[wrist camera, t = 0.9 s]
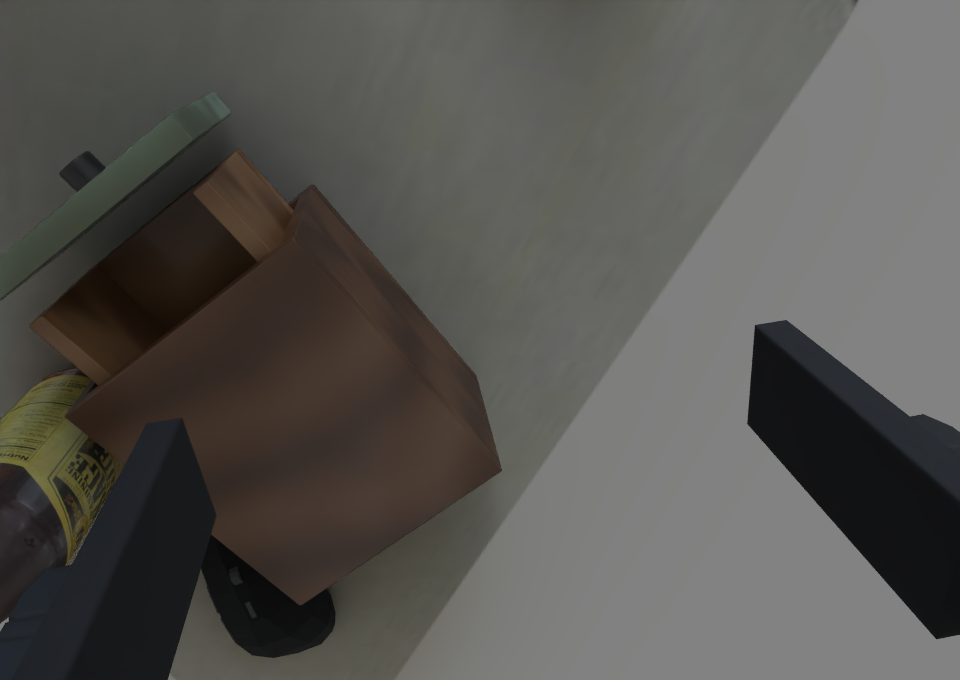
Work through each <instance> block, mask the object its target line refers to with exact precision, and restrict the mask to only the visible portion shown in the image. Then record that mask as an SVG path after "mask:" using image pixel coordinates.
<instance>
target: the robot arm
mask: <svg viewBox="0 0 960 680" xmlns="http://www.w3.org/2000/svg"><path fill="white" fill-rule="evenodd" d="M752 359H753V360H752V371H751V385H750V397H749V410H748V423H747V424H748V425H749V426H750V427H751V428H752V430H753V431H754V432H755V433H756V434H757V435H758V436H759V438H760V439H761V440H762V441H763V442H764V443H765V444H766V446H767V447H768V448H769V449H770V450H771V451H772V452H773V454H774V455H775V456H776V457H777V458H778V459H779V460H780V461H781V463H782V464H783V465H784V466H785V467H786V468H787V469H788V471H789V472H790V473H791V474H792V475H793V476H794V477H795V479H796V480H797V481H798V482H799V483H800V484H801V485H802V487H803V488H804V489H805V490H806V491H807V492H808V493H809V495H810V496H811V497H812V498H813V499H814V500H815V501H816V503H817V504H818V505H819V506H820V507H821V508H822V509H823V511H824V512H825V513H826V514H827V515H828V516H829V517H830V519H831V520H832V521H833V522H834V523H835V524H836V525H837V527H838V528H839V529H840V530H841V531H842V532H843V533H844V534H845V536H846V537H847V538H848V539H849V540H850V541H851V542H852V544H853V545H854V546H855V547H856V548H857V549H858V550H859V552H860V553H861V554H862V555H863V556H864V557H865V558H866V560H867V561H868V562H869V563H870V564H871V565H872V566H873V567H874V569H875V570H876V571H877V572H878V573H879V574H880V576H881V577H882V578H883V579H884V580H885V581H886V582H887V584H888V585H889V586H890V587H891V588H892V589H893V590H894V591H895V593H896V594H897V595H898V596H899V597H900V598H901V599H902V601H903V602H904V603H905V604H906V605H907V606H908V607H909V609H910V610H911V611H912V612H913V613H914V614H915V615H916V617H917V618H918V619H919V620H920V621H921V622H922V623H923V624H924V626H925V627H926V628H927V629H928V630H929V631H930V633H931V634H932V635H933V636H934V637H935V638H936V639H940V638H945V637H950V636H955V635H960V432H959V431H957V430H956V429H955V428H953V427H952V426H949V425H947V424H945V423H942V422H940V421H938V420H935V419H933V418H931V417H928V416H926V415H924V414H922V415H917V416H911V417H910V416H908V415H907V414H906V413H904V412H903V411H902V410H901V409H899V408H898V407H897V406H895V405H894V404H893V403H892V402H890V401H889V400H888V399H887V398H885V397H884V396H883V395H881V394H880V393H879V392H878V391H876V390H875V389H874V388H872V387H871V386H870V385H869V384H867V383H866V382H865V381H864V380H862V379H861V378H860V377H858V376H857V375H856V374H855V373H853V372H852V371H851V370H849V369H848V368H847V367H845V366H844V365H843V364H842V363H841V362H839V361H838V360H837V359H835V358H834V357H833V356H832V355H830V354H829V353H828V352H826V351H825V350H824V349H823V348H821V347H820V346H819V345H817V344H816V343H815V342H814V341H812V340H811V339H810V338H809V337H807V336H806V335H805V334H803V333H802V332H801V331H800V330H798V329H797V328H796V327H794V326H793V325H792V324H791V323H789V322H788V321H787V320H785V321H778V322H772V323H766V324H759V325H755V332H754V345H753V358H752ZM216 516H217V515H216V512H215V509H214V506H213V503H212V500H211V498H210V495H209V492H208V489H207V486H206V483H205V481H204V478H203V475H202V472H201V469H200V466H199V464H198V461H197V458H196V455H195V452H194V450H193V447H192V444H191V441H190V438H189V435H188V433H187V430H186V427H185V424H184V421H183V418H177V419H171V420H164V421H158V422H152V423H146V425H145V427H144V429H143V431H142V433H141V435H140V437H139V439H138V440H137V442H136V444H135V446H134V448H133V450H132V452H131V454H130V456H129V458H128V459H127V461H126V463H125V465H124V467H123V469H122V471H121V473H120V475H119V477H118V478H117V480H116V482H115V484H114V486H113V488H112V490H111V492H110V494H109V495H108V497H107V499H106V501H105V503H104V505H103V507H102V509H101V511H100V513H99V514H98V516H97V518H96V520H95V522H94V524H93V526H92V528H91V530H90V532H89V533H88V535H87V537H86V539H85V541H84V543H83V545H82V547H81V549H80V550H79V552H78V554H77V556H76V558H75V560H74V562H73V564H72V565H68V566H63V567H57V568H51V569H47V570H46V571H45V572H44V573H43V574H42V575H41V576H40V577H39V578H38V579H37V580H36V581H35V582H34V583H33V584H32V585H31V586H30V587H29V588H28V589H27V590H25V591H24V592H23V594H22V596H21V597H20V599H19V601H18V602H17V604H16V606H15V608H14V609H13V611H12V613H11V614H10V616H9V622H7V623H5V625H4V626H3V628H2V630H1V631H0V680H168V677H169V673H170V670H171V667H172V663H173V660H174V657H175V653H176V650H177V646H178V643H179V640H180V636H181V633H182V630H183V626H184V623H185V620H186V616H187V613H188V610H189V606H190V603H191V600H192V596H193V593H194V590H195V586H196V583H197V580H198V576H199V573H200V570H201V566H202V563H203V559H204V556H205V553H206V549H207V546H208V543H209V539H210V536H211V533H212V529H213V526H214V523H215V519H216Z"/></svg>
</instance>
